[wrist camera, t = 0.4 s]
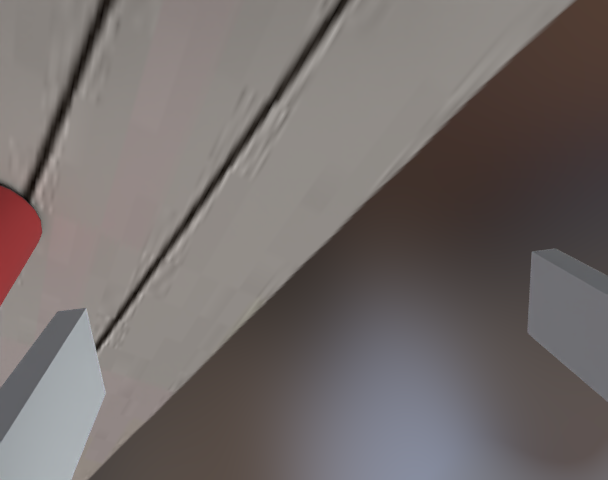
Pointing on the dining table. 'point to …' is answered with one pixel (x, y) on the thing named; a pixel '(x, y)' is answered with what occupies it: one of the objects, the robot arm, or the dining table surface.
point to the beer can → (15, 237)
